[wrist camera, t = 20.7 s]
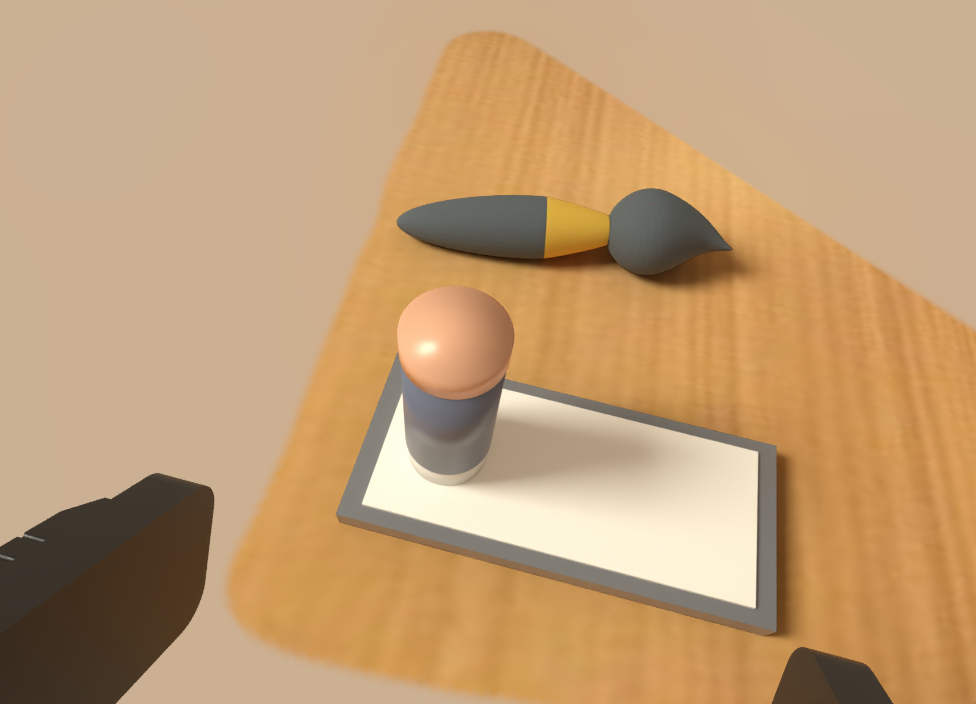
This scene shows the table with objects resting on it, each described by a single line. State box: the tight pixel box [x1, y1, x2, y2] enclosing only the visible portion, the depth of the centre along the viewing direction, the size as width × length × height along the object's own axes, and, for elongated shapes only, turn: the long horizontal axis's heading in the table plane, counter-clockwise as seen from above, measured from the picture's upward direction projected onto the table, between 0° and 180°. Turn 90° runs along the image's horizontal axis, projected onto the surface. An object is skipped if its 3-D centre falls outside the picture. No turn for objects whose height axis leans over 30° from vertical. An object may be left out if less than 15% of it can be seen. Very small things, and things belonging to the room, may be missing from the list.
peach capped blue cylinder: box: [397, 286, 514, 486], centre depth 27 cm, size 4×4×10 cm
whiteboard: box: [336, 353, 777, 636], centre depth 31 cm, size 20×9×1 cm, turn 76°
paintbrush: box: [397, 188, 733, 275], centre depth 38 cm, size 20×5×5 cm, turn 91°
